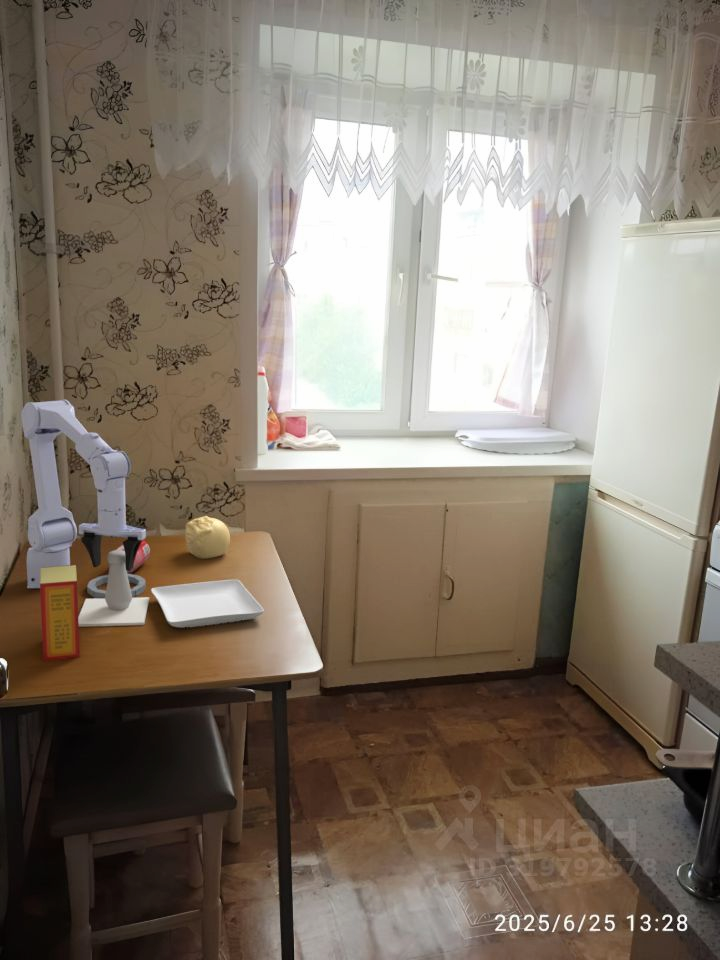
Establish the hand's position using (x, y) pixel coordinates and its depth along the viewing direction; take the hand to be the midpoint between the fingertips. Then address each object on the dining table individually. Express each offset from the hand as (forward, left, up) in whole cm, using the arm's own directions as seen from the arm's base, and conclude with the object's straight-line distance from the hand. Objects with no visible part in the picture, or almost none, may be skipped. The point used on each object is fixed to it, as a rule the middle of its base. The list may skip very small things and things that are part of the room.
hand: (113, 567), depth 170 cm
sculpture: (+20, +37, -11) cm, 44 cm away
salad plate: (+20, -1, -11) cm, 23 cm away
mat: (0, -1, -10) cm, 10 cm away
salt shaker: (+1, +1, -10) cm, 10 cm away
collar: (-1, +13, -10) cm, 17 cm away
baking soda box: (-8, -18, -11) cm, 22 cm away
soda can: (+3, +33, -7) cm, 33 cm away
